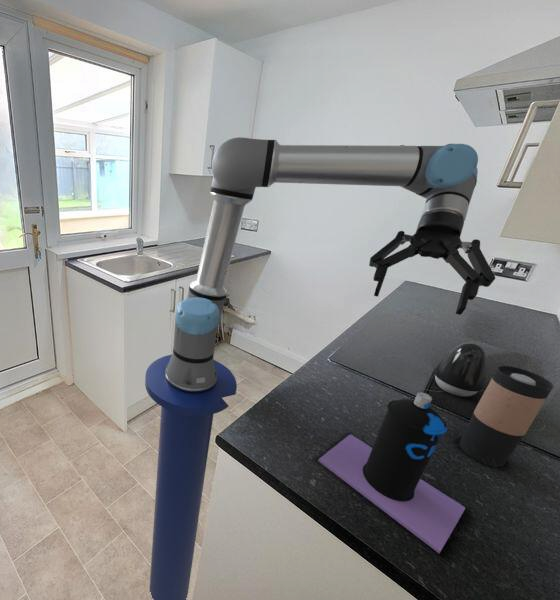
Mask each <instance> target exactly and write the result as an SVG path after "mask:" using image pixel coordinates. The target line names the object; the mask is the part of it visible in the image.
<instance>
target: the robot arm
mask: <svg viewBox="0 0 560 600" xmlns="http://www.w3.org/2000/svg"><path fill="white" fill-rule="evenodd" d="M211 161H212V162H211V172H212V175H213V177H212V182H211V186H210V191H209V194H210V196H211V197H212V199H213V202H212V207H211V211H210V216H209V221H208V225H207V229H206V234H205V237H204V238H205V239H204V242H203V247H202V251H201V256H200V260H199V266H198V270H197V273H196V274H197V275H196V278H195V280H193V281H191V282H190V283H189V288H188V292H187V297H186V298H185V299H183V300H181V301H180V302H179V303H178V304H177V306H176V310H175V314H174V333H173V346H172V348H173V349H172V353H171V355H172V356H171V358H170V361H169V363H168V365H167V367H166V370H165V379H166V381H167V382H168V384H169V385H170V386H172V387H173V388H175V389H177V390H179V391H182V392H185V393H192V394H198V393H204V392H207V391H210V390H211V389H213V388H214V387H215V385H216V382H217V372H216V368H215V363H214V360H215V359H214V354H215V348H216V340H217V334H218V328H219V324H220V321H221V317H222V314H223V311H224V306H225V302H226V297H227V294H228V290H227V288H226V287H225V286H224V285H225V282H226V278H227V275H228V271H229V267H230V264H231V260H232V255H233V251H234V248H235V245H236V242H237V241H236V240H237V237H238V233H239V229H240V226H241V222H242V219H243V214H244V210H245V207H246V205H248V204H249V203H251V202H253V198H254V194H255V191H256V188H270V187H271V186H272V185H273V184H309V185H337V186H338V185H342V186H347V185H348V186H372V187H373V186H374V187H376V186H378V187H400V188H403V189H405V190H407V191H409V192H412V193H414V194H416V195H417V196H420V197H422V198H423V199H426V200H425V204H424V206H423V210H422V212H421V215H420V219H419V221H418V224H417V226H416V229H415V233H414V234H412V235H411V234H406V233H405V231H404V230H399V231H398V232H397V234H396V236H395V237H394V238H393V239H392V240H391V241H390V242H388V243H387V244H386V245H384V246H383V247H381V248H380V249H379V250H378V251H377V252H375V253H374V254H373V255H372V256H371V257H370V258H369V262H368V266H369V267H370V268H375V273H374V275H373V279H372V280H373V281H374V282H377V284H376V288H375V290H374V294H373V296H374V297H379V295H380V292H381V289H382V287H383V284H384V281H385V278H386V276H387V272H388V268H390V267H393V266H395V265H396V264H397V265H398V264H399V263H401V262H403V261H405V260H407V259H409V258H413V257H416V256H417V255H419V256H420V257H422V258H423V257H424V258H432V259H436V260H439V259H442V260H444V262H445V263H446V264H449V265H450V266H451V267H452V268H453V269H454V271H455V272H456V273H457V274H458V276H459V277H461V279H462V280H464V282H465V283H464V284H463V286H462V289H461V292H460V296H459V300H458V304H457V307H456V310H455V315H459V316H461V315H462V314H463V313H464V311H465V310H466V309H467V304H468V302H469V301H468V300H470V301H473V300H474V299H475V298H476V297H477V296H478V293H479V289H480V287H486V288H488V287H490V286H491V285H492V283H493V282H494V281H495V280H496V276H495V274H494V272H493V270H492V268H491V266H490V265H489V263H488V261H487V259H486V257H485V255H484V253H483V252H482V250H481V240H480V239H473V240H472V241H462V239H461V235H462V232H463V230H464V229H463V228H464V226H465V222H466V218H467V214H468V211H469V207H470V203H471V200H472V198H473V194H474V191H475V188H476V186H477V182H478V171H479V170H478V163H479V156H478V153H477V151H476V150H475V149H474V147H473V146H471V145H469V144H465V143H447V144H445V145H404V144H400V145H360V144H359V145H357V144H355V145H354V144H353V145H351V144H350V145H349V144H348V145H346V144H345V145H344V144H343V145H342V144H341V145H336V144H335V145H333V144H331V145H330V144H328V145H327V144H326V145H323V144H321V145H320V144H280V143H279V142H278V140H277V139H261V138H250V137H241V136H240V137H233V138H230V139H228V140H226V141H224V142H223V143H221V144H220V145H219V147H218V148H217V149H216V150H215V152H214V154H213V157H212V160H211ZM407 242H409V245H408V246H407V247H405V248H403V249H400V250H398V251H396V252H395V253H393V252H394V251H395V250H397V249H398V248H399V247H400V246H401V245H405V244H406V243H407ZM459 249H461V250H463V252H464V254H466V255H467V258H468V261H469V262H470V264H471V265H470V264H469V263H468V261H466V259H465V258H464V257H463V256H462V255H461V254H460V251H459ZM392 253H393V254H392ZM390 254H391V255H390Z"/></svg>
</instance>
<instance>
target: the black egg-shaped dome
mask: <svg viewBox="0 0 560 600" xmlns="http://www.w3.org/2000/svg"><path fill="white" fill-rule="evenodd" d="M433 372H434V373H433V374H434V380H435V383H436V385H437V386H438V387H439V388H440V390H441V389H442V391H444V392H445V393H448V394H450V395H453V396H457V397H465V398H466V397H472V396H474V395H476V394H477V393H479V392H480V391H482V390H483V388H484V387H485V383H486V379H487V372H488V359H487V354H486V351H485V350H484V348H483V347H482V346H481V345H479V344H477V343H474V342H463V343H461V344H458V345H457V346H455V347H454V348H452V349H451V350H450V351H449V352H448V353H447V354H445V356H444V357H443V358H442V359H441V361H440V362H439V363H438V364H437V366H436V367H435V369H434V371H433Z"/></svg>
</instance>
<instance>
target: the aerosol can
mask: <svg viewBox="0 0 560 600" xmlns="http://www.w3.org/2000/svg"><path fill="white" fill-rule="evenodd" d="M432 400H433V397H432V396H431V395H430V394H428V393H426V392H421V391H420V392H417V394H416V396H415V399H409V398H401V399H395V400H391V401H389V402H388V403H387V405H386V407H387V410H386V413H385V415H384V418H383V420H382V423H381V425H380V427H379V431H378V433H377V436H376V438H375V440H374V443H373V445H372V447H371V448H372V451H371V453H370V456H369V458H368V461H367V463H366V464H365V465H364V466H363V474H364V477H365V479H366V480H367V482H368V483H369V484H370V485H371V486H372V487H373V488H374V489H375V490H377V491H378V492H379V493H381V494H382V495H384V496H386V497H388V498H390V499H393V500H397V501H402V502H404V501H409V500H411V499H412V498H413V497H414V490H415V488H416V486H417V484H418V482H419V480H420V479H422V476H423V474H424V472H425V470H426V468H427V466H428V465H429V464H428V463H429V462H430V460H431V457H432V455H434V452H435V450H436V448H437V446H438V444H439V442H440V439H441V437H442V435H444V434H445V433H446V432H447V431H448V426H447V424H446V422H445V421H444V419H443V418H442V417H441V415H440V414H439V412H437V410H435V409H434V408H433V407H431V406H430V405H431V402H432Z"/></svg>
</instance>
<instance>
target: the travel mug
mask: <svg viewBox="0 0 560 600" xmlns="http://www.w3.org/2000/svg"><path fill="white" fill-rule="evenodd" d="M553 389H554V384H553V383H552V382H551V381H550V380H549V379H547V378H545V377H543V376H541V375H539V374H537V373H534V372H532V371H529V370H526V369H523V368H519V367H515V366H510V365H500V366H498V367H497V368H496V370H495V372H494V373H493V375H492V377H491V379H490V381H489V383H488V384H487V387H486V388H485V390H484V392H483V394H482V396H481V398H480V400H479V401H478V403H477V405H476V406H475V408H474V411H473V413H472V415H471V417H470V419H469V421H468V423H467V426H466V428H465V430H464V432H463V434H462V437H461V439H460V441H459V447H460V449H461V450H462V451H463V452H464V453H465V454H466V455H468V456H469V457H470V458H472V459H473V460H475V461H478V462H479V463H481V464H484V465H486V466H490V467H495V468H500V467H503V466H504V465H505V464H506V463H507V461H508V460H509V459H510V457H511V455H512V454H513V453H514V452H515V450H516V448H517V447H518V445H519V444H520V443H521V441H522V440H523V438H524V437H525V435H526V434H527V432H528V431H529V429H530V427H531V425H532V424H533V422H534V421H535V419H536V417H537V415H538V414H539V412H540V410H541V409H542V407H543V405H544V403H546V400H547V398H548V397H549V395H550V393H551V391H552V390H553Z"/></svg>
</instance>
